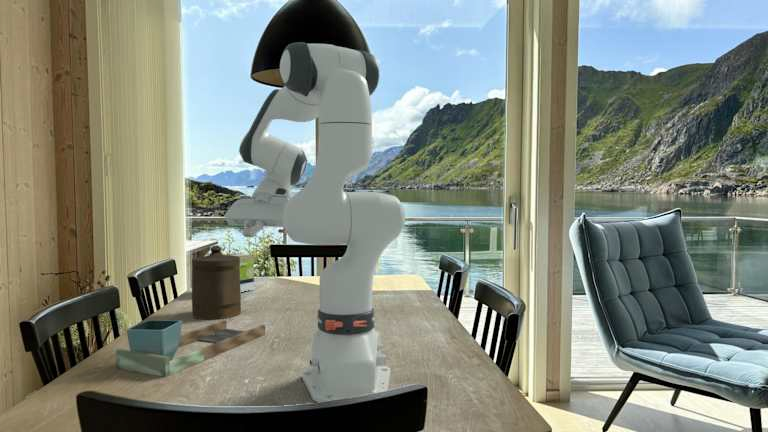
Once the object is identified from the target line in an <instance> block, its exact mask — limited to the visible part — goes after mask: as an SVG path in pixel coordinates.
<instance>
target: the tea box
mask: <svg viewBox="0 0 768 432" xmlns="http://www.w3.org/2000/svg"><path fill="white" fill-rule="evenodd" d="M223 255H231V256H238V257H240V267H239V268H240V291H241V292H244V291H248V290H252V289H254V290H255V272H254V271H255V267H254V266H255V255H254V254H252V253H251V254H250V253H243V252H242V253H241V252H240V253H239V252H235V253H226V254H223ZM244 293H245V292H244Z"/></svg>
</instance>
